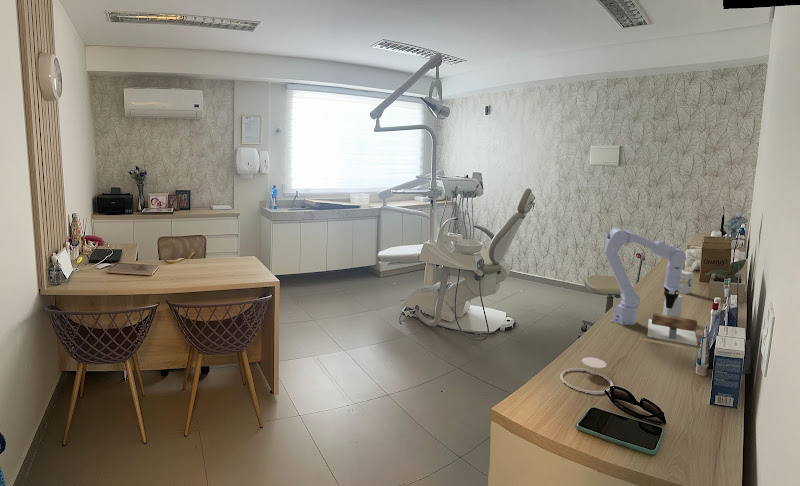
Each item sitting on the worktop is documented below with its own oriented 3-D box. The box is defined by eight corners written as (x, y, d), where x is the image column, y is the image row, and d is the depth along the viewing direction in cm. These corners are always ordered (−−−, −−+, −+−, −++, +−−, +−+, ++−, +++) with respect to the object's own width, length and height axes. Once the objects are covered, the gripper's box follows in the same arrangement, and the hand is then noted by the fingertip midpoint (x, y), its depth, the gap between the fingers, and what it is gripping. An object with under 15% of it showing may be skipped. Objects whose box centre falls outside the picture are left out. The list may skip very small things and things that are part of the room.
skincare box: (674, 318, 223) (678, 294, 220) (679, 321, 218) (683, 297, 216) (661, 317, 223) (665, 293, 221) (665, 320, 219) (669, 296, 217)
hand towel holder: (553, 372, 156) (573, 351, 173) (552, 384, 157) (571, 362, 173) (607, 388, 146) (622, 365, 163) (606, 401, 147) (621, 377, 163)
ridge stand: (697, 348, 189) (699, 336, 188) (647, 338, 198) (648, 327, 197) (693, 328, 210) (695, 318, 209) (648, 320, 218) (649, 310, 217)
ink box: (691, 293, 263) (694, 273, 261) (685, 294, 261) (688, 273, 259) (677, 289, 271) (680, 269, 269) (671, 290, 269) (674, 269, 267)
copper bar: (651, 323, 200) (653, 315, 200) (651, 321, 203) (653, 312, 202) (695, 331, 193) (697, 322, 192) (695, 329, 196) (696, 320, 195)
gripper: (684, 281, 197) (679, 312, 200) (683, 273, 210) (678, 302, 213) (665, 278, 200) (661, 308, 203) (665, 271, 213) (660, 299, 216)
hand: (668, 305), depth 208 cm, fingers open, 7 cm apart
